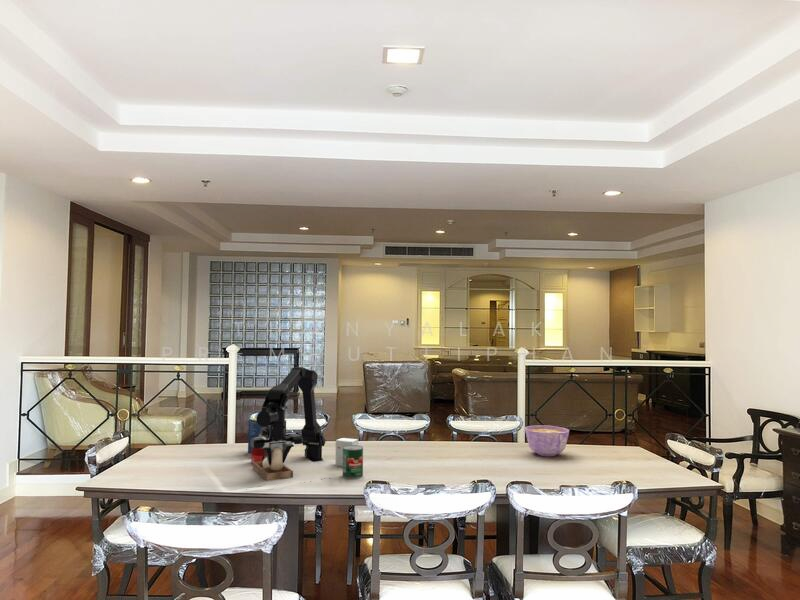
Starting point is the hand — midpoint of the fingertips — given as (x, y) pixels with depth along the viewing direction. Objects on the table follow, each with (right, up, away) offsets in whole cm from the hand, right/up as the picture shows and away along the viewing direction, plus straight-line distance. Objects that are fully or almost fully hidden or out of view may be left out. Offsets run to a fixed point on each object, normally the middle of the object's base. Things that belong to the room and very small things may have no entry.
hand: (276, 464), depth 209 cm
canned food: (-11, -7, +20) cm, 23 cm away
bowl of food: (+114, -9, +46) cm, 123 cm away
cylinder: (0, -2, 0) cm, 2 cm away
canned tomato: (+28, -6, +5) cm, 29 cm away
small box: (+24, -7, +22) cm, 34 cm away
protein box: (-14, -8, +41) cm, 44 cm away
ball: (-5, -5, +8) cm, 11 cm away
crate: (-2, -6, +4) cm, 7 cm away
